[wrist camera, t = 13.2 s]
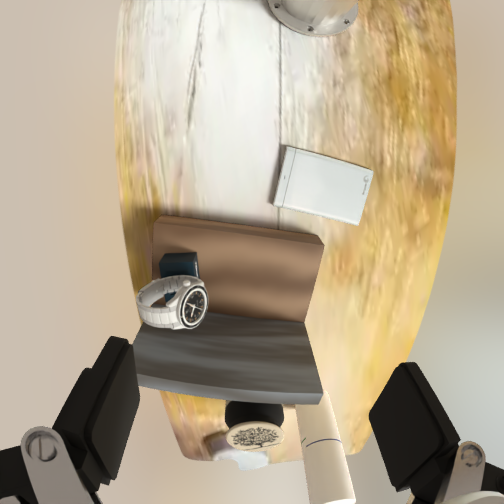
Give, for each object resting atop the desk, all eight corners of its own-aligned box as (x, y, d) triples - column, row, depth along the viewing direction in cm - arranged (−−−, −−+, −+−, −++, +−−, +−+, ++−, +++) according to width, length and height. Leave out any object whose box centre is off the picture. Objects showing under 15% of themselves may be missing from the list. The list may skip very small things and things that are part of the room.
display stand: (161, 214, 40) (108, 269, 23) (317, 235, 41) (360, 301, 25) (159, 300, 45) (122, 382, 28) (297, 318, 47) (318, 404, 30)
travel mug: (223, 338, 48) (215, 426, 31) (271, 330, 47) (281, 418, 31) (235, 371, 51) (232, 455, 34) (279, 364, 50) (289, 448, 34)
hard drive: (374, 170, 37) (287, 146, 36) (358, 226, 40) (273, 206, 39) (369, 169, 39) (285, 145, 37) (354, 223, 42) (272, 204, 40)
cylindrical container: (335, 396, 54) (364, 500, 31) (309, 413, 56) (328, 514, 33) (313, 383, 53) (339, 497, 29) (287, 402, 54) (301, 511, 31)
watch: (215, 289, 40) (206, 340, 30) (158, 290, 40) (134, 338, 30) (212, 250, 38) (199, 293, 28) (152, 253, 38) (122, 294, 28)
